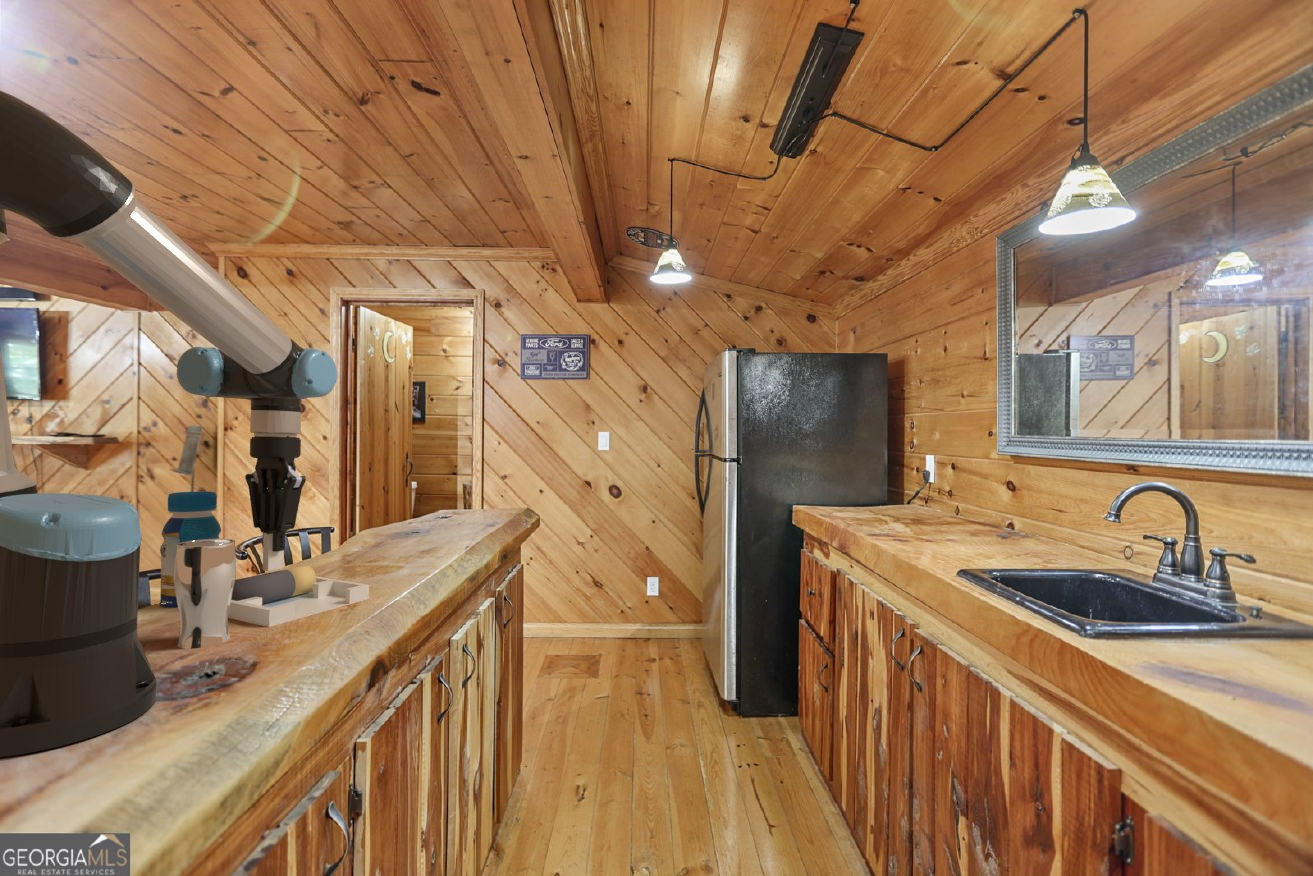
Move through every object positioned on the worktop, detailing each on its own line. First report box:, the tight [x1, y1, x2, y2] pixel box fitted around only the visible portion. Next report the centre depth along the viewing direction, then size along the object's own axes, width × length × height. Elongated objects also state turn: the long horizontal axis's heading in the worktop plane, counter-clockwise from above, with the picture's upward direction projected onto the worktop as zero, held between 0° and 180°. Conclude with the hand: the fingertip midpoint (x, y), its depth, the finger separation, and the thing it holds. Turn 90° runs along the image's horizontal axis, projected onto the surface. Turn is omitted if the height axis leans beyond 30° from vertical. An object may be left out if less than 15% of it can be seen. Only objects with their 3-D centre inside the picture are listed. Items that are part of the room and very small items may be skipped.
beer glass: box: [174, 538, 237, 650], centre depth 82 cm, size 7×7×15 cm
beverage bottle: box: [159, 490, 222, 609], centre depth 102 cm, size 8×8×20 cm
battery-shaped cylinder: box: [231, 565, 317, 604], centre depth 103 cm, size 13×5×5 cm, turn 157°
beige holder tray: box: [228, 575, 370, 628], centre depth 101 cm, size 18×18×4 cm
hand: (273, 569), depth 103 cm, fingers closed
